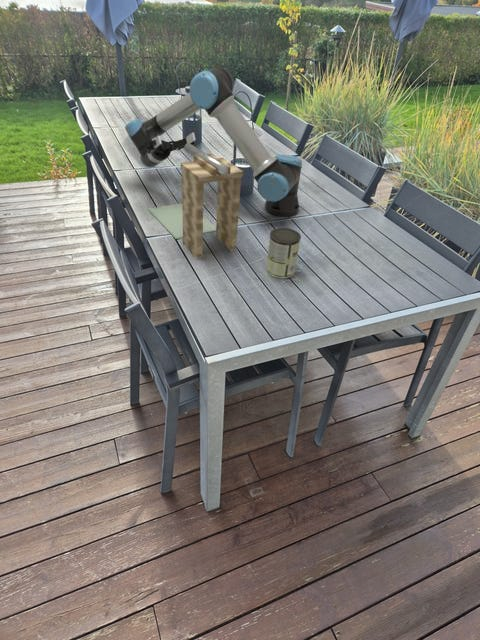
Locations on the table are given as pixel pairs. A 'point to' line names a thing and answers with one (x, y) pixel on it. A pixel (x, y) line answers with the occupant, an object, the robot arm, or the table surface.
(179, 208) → the sage mat
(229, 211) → the oak bridge
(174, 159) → the table surface
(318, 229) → the table surface
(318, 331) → the table surface
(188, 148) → the steel rod
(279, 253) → the coffee can
